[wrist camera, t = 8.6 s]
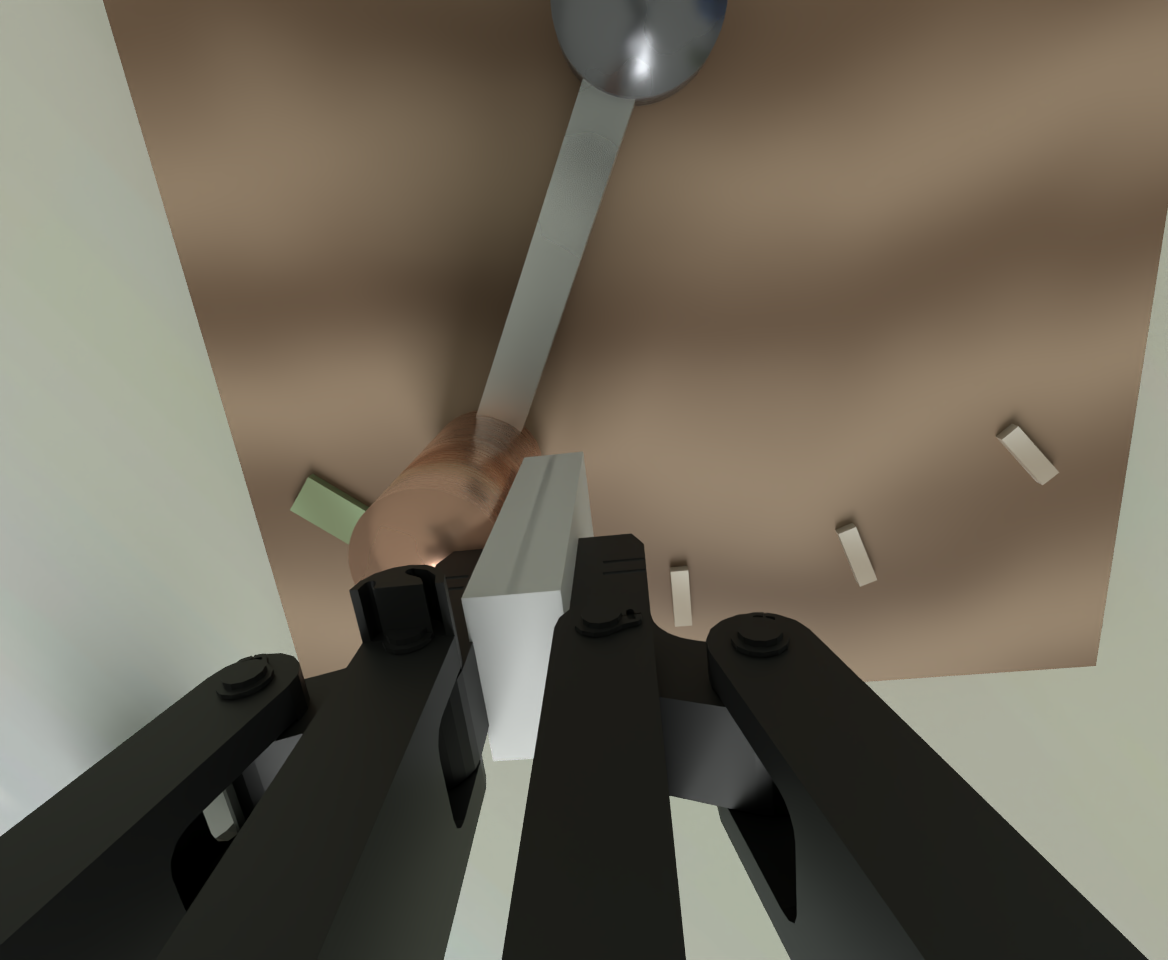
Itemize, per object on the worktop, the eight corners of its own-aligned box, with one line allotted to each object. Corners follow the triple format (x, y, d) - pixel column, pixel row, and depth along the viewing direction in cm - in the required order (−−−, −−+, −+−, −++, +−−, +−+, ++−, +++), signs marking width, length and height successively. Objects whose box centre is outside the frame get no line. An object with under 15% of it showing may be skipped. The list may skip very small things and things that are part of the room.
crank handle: (587, -118, 14) (569, -378, 8) (748, -49, 14) (841, -252, 8) (405, 505, 19) (311, 622, 13) (527, 548, 19) (489, 680, 13)
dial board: (87, -188, 15) (22, -242, 14) (1204, -393, 13) (1288, -485, 12) (334, 690, 23) (312, 725, 21) (1063, 637, 21) (1102, 671, 20)
